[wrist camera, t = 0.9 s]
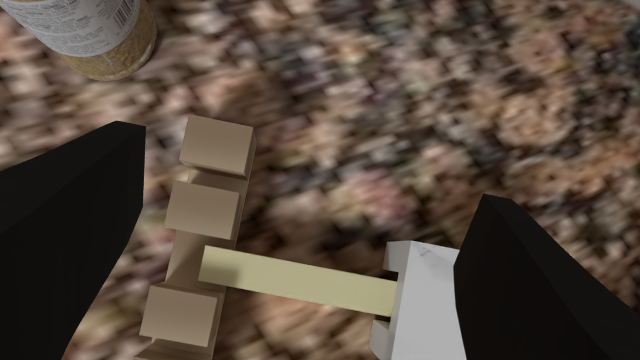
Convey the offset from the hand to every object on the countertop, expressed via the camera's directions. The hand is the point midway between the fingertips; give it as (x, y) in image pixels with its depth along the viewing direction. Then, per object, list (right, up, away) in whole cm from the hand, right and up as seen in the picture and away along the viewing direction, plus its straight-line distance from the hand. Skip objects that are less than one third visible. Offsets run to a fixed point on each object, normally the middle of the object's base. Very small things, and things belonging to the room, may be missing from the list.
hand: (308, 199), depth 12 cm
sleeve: (+5, -5, +13) cm, 15 cm away
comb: (-5, -3, +13) cm, 14 cm away
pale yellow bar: (+7, -5, +13) cm, 16 cm away
